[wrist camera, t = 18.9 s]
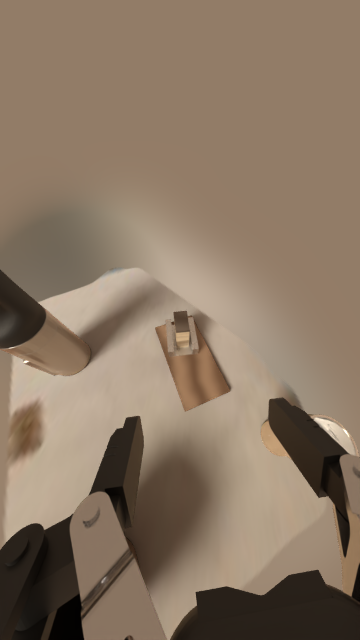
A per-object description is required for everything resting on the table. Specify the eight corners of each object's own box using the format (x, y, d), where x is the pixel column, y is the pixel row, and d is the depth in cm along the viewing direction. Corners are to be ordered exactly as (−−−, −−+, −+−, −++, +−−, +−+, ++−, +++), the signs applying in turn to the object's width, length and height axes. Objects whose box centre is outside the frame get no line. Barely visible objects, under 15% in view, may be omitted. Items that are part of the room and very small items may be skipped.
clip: (197, 353, 43) (198, 348, 40) (169, 356, 43) (168, 352, 40) (192, 323, 48) (193, 317, 45) (166, 326, 47) (165, 319, 45)
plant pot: (87, 716, 20) (-107, 1301, 7) (46, 563, 26) (-98, 707, 13) (181, 582, 25) (179, 763, 12) (129, 479, 31) (88, 520, 18)
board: (185, 411, 37) (185, 411, 36) (155, 329, 48) (155, 327, 47) (229, 391, 39) (230, 390, 38) (191, 317, 50) (191, 315, 49)
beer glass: (272, 410, 37) (319, 401, 24) (301, 441, 34) (371, 450, 21) (251, 432, 35) (290, 436, 22) (279, 468, 32) (344, 496, 19)
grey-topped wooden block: (188, 346, 44) (189, 329, 36) (177, 347, 44) (175, 331, 36) (186, 329, 46) (186, 310, 39) (175, 330, 46) (173, 312, 39)
